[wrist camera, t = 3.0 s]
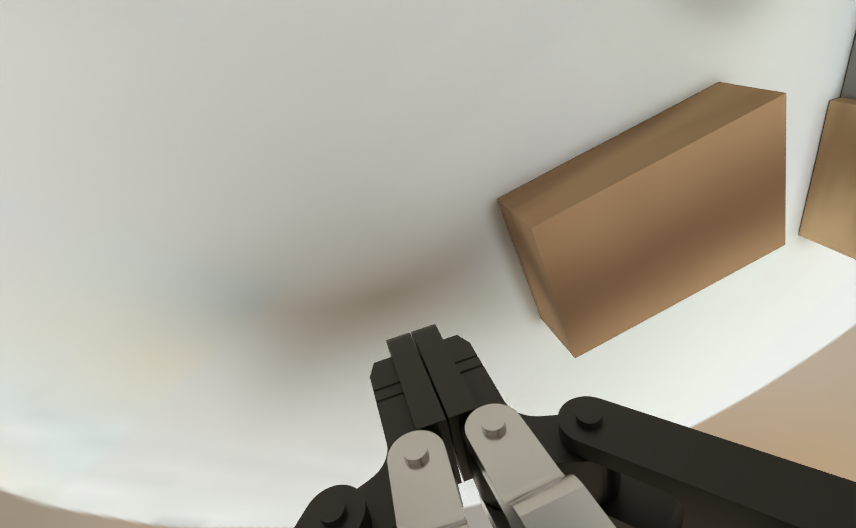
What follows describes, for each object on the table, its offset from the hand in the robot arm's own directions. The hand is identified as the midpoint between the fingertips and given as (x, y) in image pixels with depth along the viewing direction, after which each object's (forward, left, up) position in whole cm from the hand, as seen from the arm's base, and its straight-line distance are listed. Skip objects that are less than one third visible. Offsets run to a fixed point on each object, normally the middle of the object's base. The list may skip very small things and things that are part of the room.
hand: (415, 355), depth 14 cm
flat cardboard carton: (0, +10, -4) cm, 10 cm away
